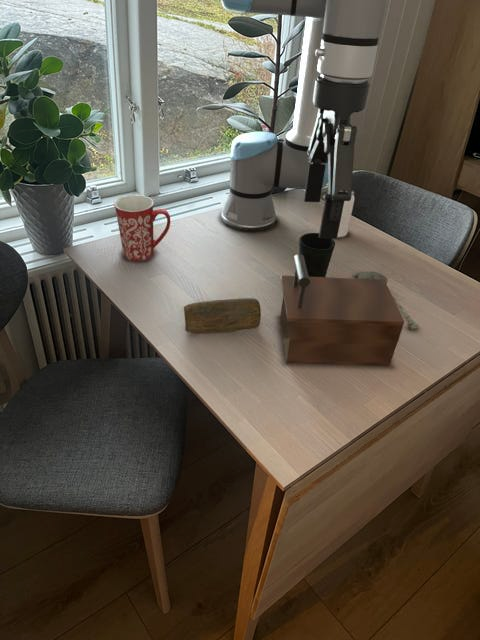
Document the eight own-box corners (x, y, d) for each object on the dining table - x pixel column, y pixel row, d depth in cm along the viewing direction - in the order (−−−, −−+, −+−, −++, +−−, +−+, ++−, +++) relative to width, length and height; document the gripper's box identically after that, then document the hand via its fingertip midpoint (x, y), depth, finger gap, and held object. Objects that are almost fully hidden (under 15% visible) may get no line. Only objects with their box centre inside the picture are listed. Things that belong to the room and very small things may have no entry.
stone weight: (252, 314, 100) (255, 287, 96) (261, 335, 95) (264, 308, 91) (181, 321, 97) (181, 294, 93) (186, 343, 91) (186, 315, 87)
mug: (116, 263, 113) (110, 210, 105) (122, 244, 120) (117, 193, 112) (169, 264, 114) (167, 212, 106) (173, 246, 121) (171, 195, 113)
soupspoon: (376, 275, 116) (351, 279, 115) (378, 263, 114) (353, 267, 113) (427, 327, 99) (399, 333, 98) (431, 314, 97) (402, 319, 96)
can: (323, 226, 135) (330, 185, 127) (346, 228, 134) (355, 188, 127) (323, 236, 130) (331, 195, 122) (347, 239, 129) (356, 197, 122)
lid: (286, 321, 82) (292, 286, 78) (280, 278, 93) (284, 245, 89) (403, 325, 83) (415, 290, 79) (383, 282, 94) (393, 250, 90)
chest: (286, 363, 89) (292, 321, 83) (279, 318, 99) (285, 279, 93) (389, 366, 89) (403, 325, 83) (372, 321, 100) (383, 283, 94)
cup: (324, 299, 106) (334, 252, 99) (290, 294, 107) (297, 246, 99) (326, 281, 112) (336, 235, 105) (294, 276, 113) (301, 230, 105)
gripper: (301, 60, 76) (286, 188, 89) (337, 97, 56) (310, 255, 69) (347, 62, 76) (325, 189, 89) (398, 100, 57) (361, 256, 70)
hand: (319, 218), depth 79 cm, fingers open, 13 cm apart
